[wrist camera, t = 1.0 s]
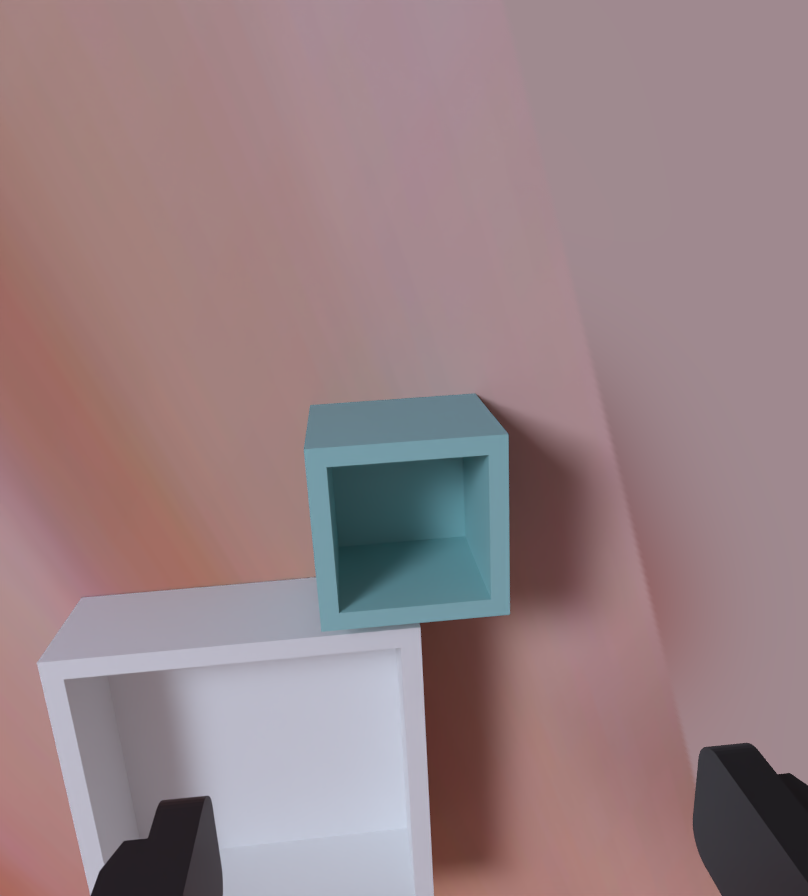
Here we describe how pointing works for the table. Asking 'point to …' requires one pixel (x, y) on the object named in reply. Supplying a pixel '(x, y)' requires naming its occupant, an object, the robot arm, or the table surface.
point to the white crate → (247, 735)
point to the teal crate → (408, 511)
